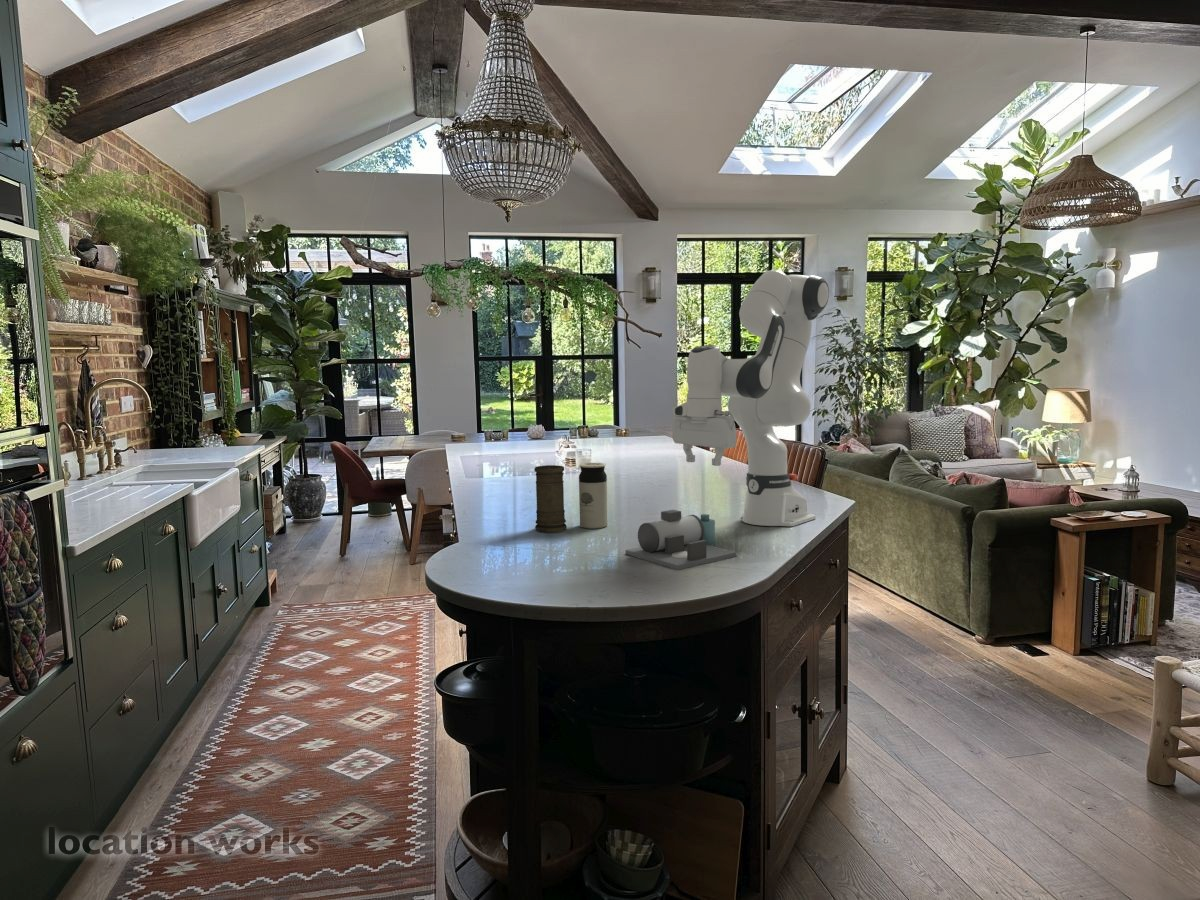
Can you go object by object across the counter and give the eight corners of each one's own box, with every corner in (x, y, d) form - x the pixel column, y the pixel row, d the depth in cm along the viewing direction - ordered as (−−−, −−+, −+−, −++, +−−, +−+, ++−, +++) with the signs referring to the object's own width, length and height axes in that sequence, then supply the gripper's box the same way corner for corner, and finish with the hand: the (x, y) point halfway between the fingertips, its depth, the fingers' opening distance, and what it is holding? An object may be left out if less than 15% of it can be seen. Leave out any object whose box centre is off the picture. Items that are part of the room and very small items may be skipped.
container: (562, 533, 218) (561, 469, 215) (531, 532, 219) (529, 468, 217) (570, 526, 226) (568, 464, 224) (540, 526, 228) (538, 464, 226)
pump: (705, 540, 207) (705, 512, 206) (718, 543, 203) (718, 515, 202) (691, 543, 204) (691, 514, 203) (704, 546, 200) (704, 517, 199)
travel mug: (594, 522, 232) (592, 461, 230) (613, 525, 227) (612, 463, 225) (574, 526, 227) (572, 464, 225) (593, 530, 221) (592, 466, 219)
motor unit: (683, 542, 205) (683, 504, 204) (736, 556, 190) (736, 515, 189) (625, 553, 194) (625, 513, 193) (677, 569, 179) (677, 526, 177)
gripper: (742, 410, 193) (741, 466, 195) (686, 407, 210) (685, 459, 211) (724, 411, 189) (723, 468, 191) (668, 408, 206) (667, 460, 207)
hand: (703, 463), depth 201 cm, fingers open, 8 cm apart
